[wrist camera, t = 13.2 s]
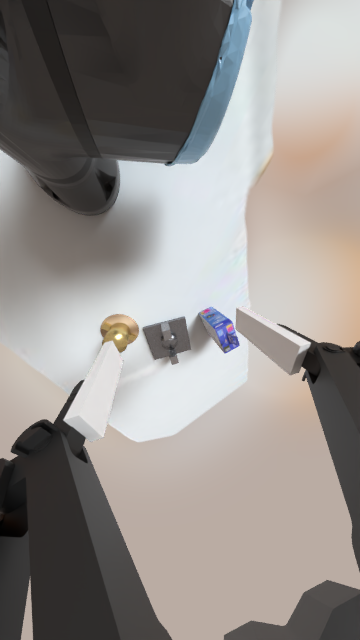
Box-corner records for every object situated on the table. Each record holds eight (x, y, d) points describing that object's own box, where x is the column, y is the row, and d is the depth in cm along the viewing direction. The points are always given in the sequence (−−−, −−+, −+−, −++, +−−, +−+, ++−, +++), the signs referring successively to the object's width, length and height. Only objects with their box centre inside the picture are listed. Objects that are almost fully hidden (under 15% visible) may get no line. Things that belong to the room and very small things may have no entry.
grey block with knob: (143, 327, 42) (142, 336, 36) (184, 316, 43) (188, 324, 38) (154, 357, 48) (155, 369, 43) (190, 347, 50) (194, 358, 45)
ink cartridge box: (220, 326, 48) (245, 351, 35) (207, 333, 48) (228, 360, 36) (212, 305, 43) (238, 325, 31) (198, 312, 43) (217, 336, 31)
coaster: (94, 319, 37) (93, 320, 37) (131, 310, 38) (131, 311, 38) (110, 347, 42) (110, 349, 42) (143, 339, 44) (143, 340, 43)
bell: (99, 331, 39) (90, 346, 32) (107, 316, 37) (99, 328, 31) (131, 343, 43) (127, 358, 37) (139, 330, 41) (137, 343, 35)
